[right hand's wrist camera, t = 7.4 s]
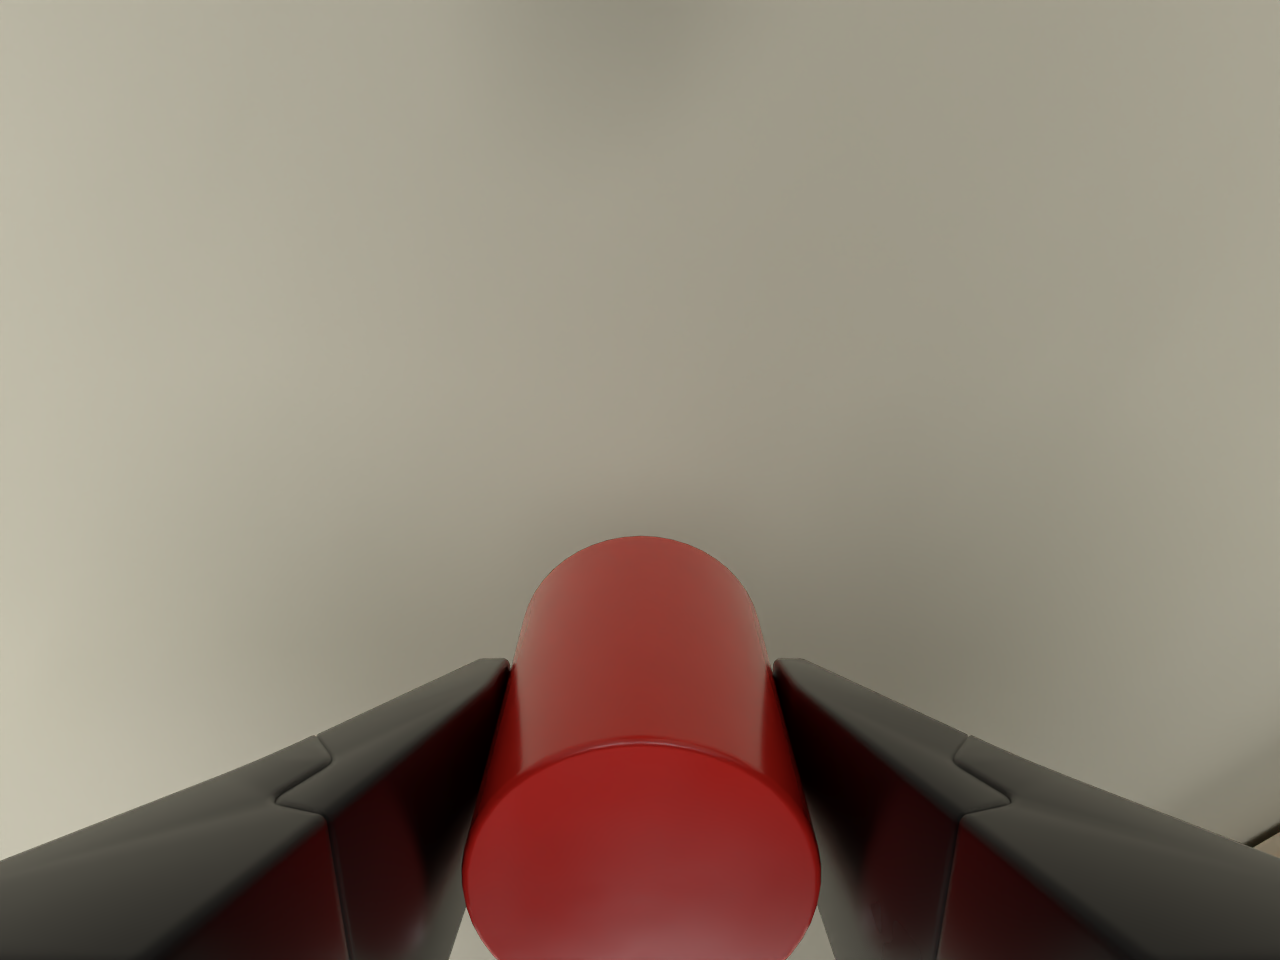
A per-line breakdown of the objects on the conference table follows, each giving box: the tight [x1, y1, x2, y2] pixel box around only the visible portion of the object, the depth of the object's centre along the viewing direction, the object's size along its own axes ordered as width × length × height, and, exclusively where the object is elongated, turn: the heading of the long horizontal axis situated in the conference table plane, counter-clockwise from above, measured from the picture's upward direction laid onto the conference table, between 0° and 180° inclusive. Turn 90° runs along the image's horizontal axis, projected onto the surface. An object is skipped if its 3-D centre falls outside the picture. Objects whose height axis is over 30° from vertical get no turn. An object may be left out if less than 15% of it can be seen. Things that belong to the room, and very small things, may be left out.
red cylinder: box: [461, 536, 821, 960], centre depth 11 cm, size 4×4×5 cm
